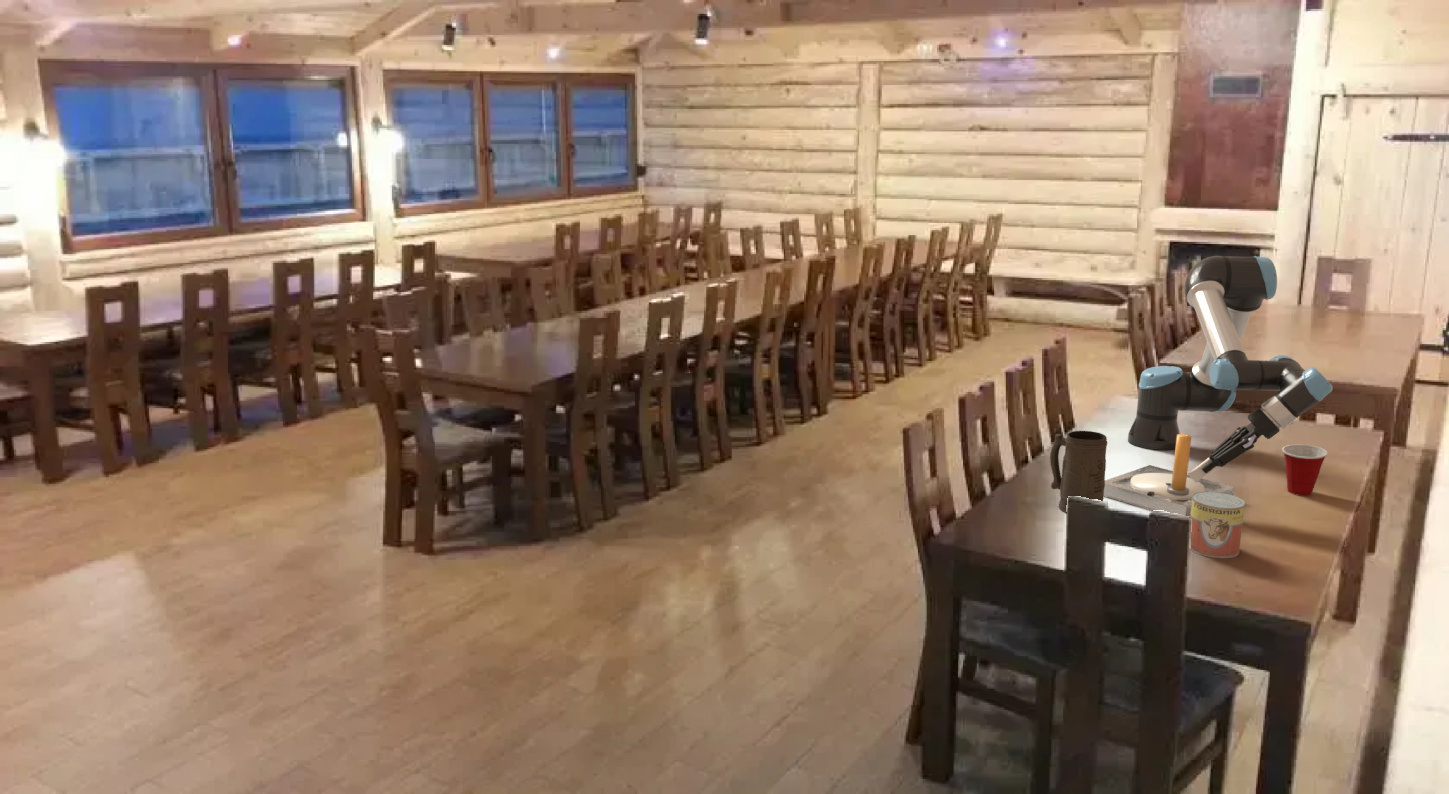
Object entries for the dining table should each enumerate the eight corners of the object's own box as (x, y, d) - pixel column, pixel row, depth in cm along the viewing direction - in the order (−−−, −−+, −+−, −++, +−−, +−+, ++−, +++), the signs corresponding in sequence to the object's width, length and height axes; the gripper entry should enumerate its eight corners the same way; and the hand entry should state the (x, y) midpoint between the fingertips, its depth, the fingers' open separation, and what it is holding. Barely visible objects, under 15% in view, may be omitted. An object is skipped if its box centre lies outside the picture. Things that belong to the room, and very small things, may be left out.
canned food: (1186, 553, 259) (1192, 504, 256) (1186, 537, 269) (1191, 489, 266) (1240, 561, 255) (1247, 510, 252) (1237, 543, 265) (1244, 495, 262)
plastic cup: (1267, 488, 305) (1272, 445, 302) (1296, 483, 309) (1302, 441, 306) (1301, 501, 295) (1307, 457, 292) (1331, 496, 299) (1337, 452, 296)
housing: (1099, 494, 298) (1100, 480, 297) (1148, 477, 313) (1149, 462, 312) (1184, 519, 280) (1186, 504, 279) (1232, 499, 295) (1234, 484, 294)
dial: (1120, 477, 305) (1126, 418, 301) (1186, 478, 305) (1193, 419, 301) (1145, 501, 287) (1152, 438, 283) (1216, 501, 287) (1224, 438, 283)
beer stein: (1112, 509, 287) (1115, 432, 283) (1093, 520, 280) (1095, 441, 276) (1056, 499, 298) (1058, 425, 294) (1036, 509, 290) (1037, 433, 286)
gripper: (1286, 435, 273) (1205, 496, 281) (1276, 423, 285) (1199, 481, 293) (1264, 413, 273) (1184, 474, 281) (1255, 401, 285) (1178, 460, 293)
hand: (1192, 478), depth 287 cm, fingers closed
